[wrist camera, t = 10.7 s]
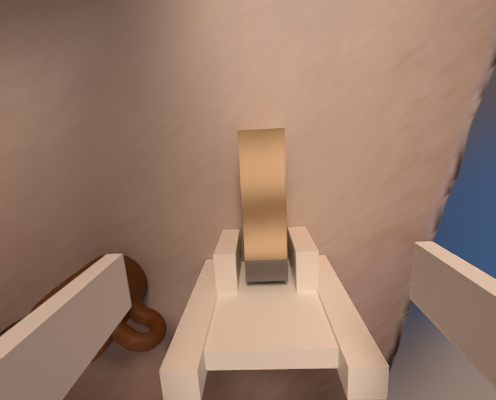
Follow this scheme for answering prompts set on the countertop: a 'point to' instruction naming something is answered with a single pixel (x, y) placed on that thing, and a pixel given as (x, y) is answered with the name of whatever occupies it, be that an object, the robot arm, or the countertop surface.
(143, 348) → the mug
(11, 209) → the countertop surface
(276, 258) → the wooden block
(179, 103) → the countertop surface
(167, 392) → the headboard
